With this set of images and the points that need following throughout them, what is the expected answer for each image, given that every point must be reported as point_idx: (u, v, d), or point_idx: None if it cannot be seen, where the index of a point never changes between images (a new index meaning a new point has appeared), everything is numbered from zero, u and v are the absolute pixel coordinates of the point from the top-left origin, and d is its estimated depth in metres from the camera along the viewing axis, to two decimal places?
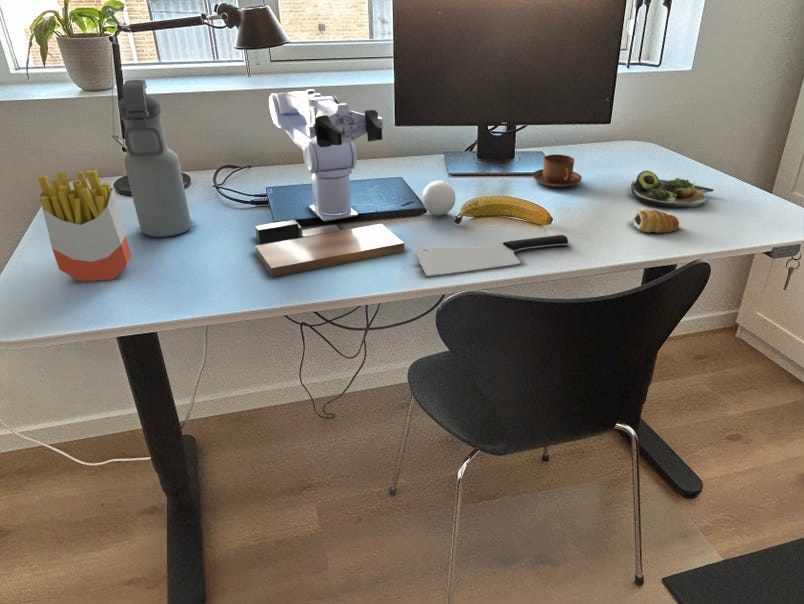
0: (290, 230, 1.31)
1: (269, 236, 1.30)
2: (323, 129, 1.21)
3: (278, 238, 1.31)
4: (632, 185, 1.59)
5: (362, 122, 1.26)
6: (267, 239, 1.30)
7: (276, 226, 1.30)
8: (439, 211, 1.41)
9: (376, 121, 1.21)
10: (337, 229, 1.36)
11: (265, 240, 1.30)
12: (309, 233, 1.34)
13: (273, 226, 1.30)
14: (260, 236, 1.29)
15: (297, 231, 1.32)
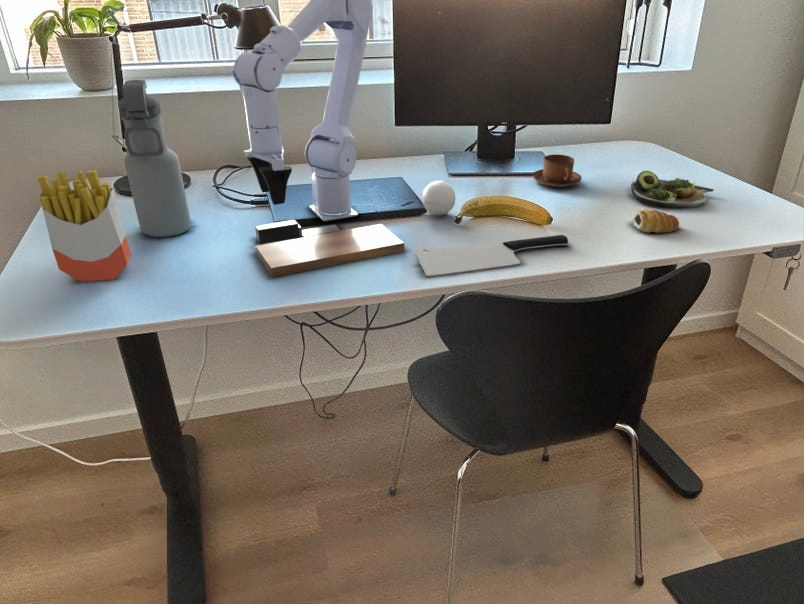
0: (290, 230, 1.31)
1: (269, 236, 1.30)
2: None
3: (278, 238, 1.31)
4: (632, 185, 1.59)
5: None
6: (267, 239, 1.30)
7: (276, 226, 1.30)
8: (439, 211, 1.41)
9: (269, 190, 1.22)
10: (337, 229, 1.36)
11: (265, 240, 1.30)
12: (309, 233, 1.34)
13: (273, 226, 1.30)
14: (260, 236, 1.29)
15: (297, 231, 1.32)
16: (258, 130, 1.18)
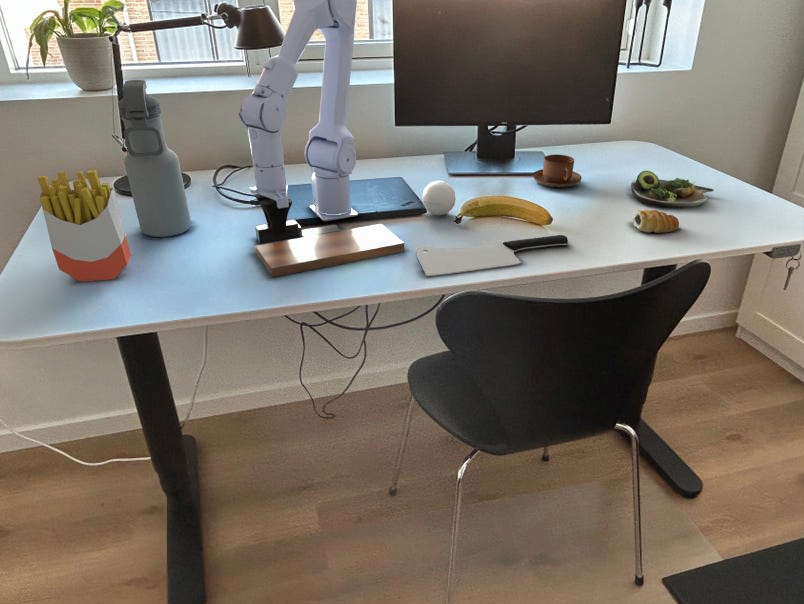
0: (290, 230, 1.31)
1: (269, 236, 1.30)
2: None
3: (278, 238, 1.31)
4: (632, 185, 1.59)
5: None
6: (267, 239, 1.30)
7: None
8: (439, 211, 1.41)
9: (270, 221, 1.28)
10: (337, 229, 1.36)
11: (265, 240, 1.30)
12: (309, 233, 1.34)
13: None
14: (260, 236, 1.29)
15: (297, 231, 1.32)
16: (263, 169, 1.22)
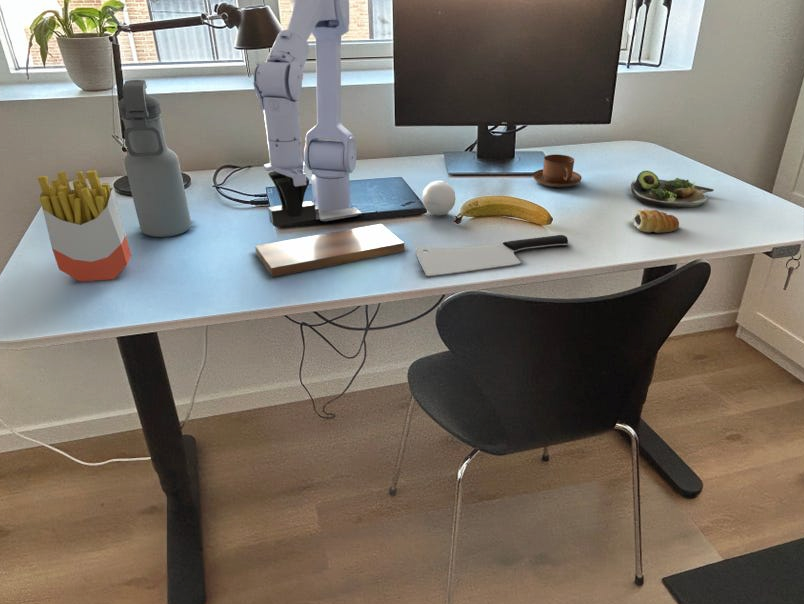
0: (306, 212, 1.21)
1: (283, 218, 1.19)
2: None
3: (293, 220, 1.20)
4: (632, 185, 1.59)
5: None
6: (281, 221, 1.19)
7: None
8: (439, 211, 1.41)
9: (285, 202, 1.17)
10: (357, 212, 1.25)
11: (279, 222, 1.19)
12: (327, 216, 1.23)
13: None
14: (274, 218, 1.18)
15: (314, 213, 1.21)
16: (278, 143, 1.11)
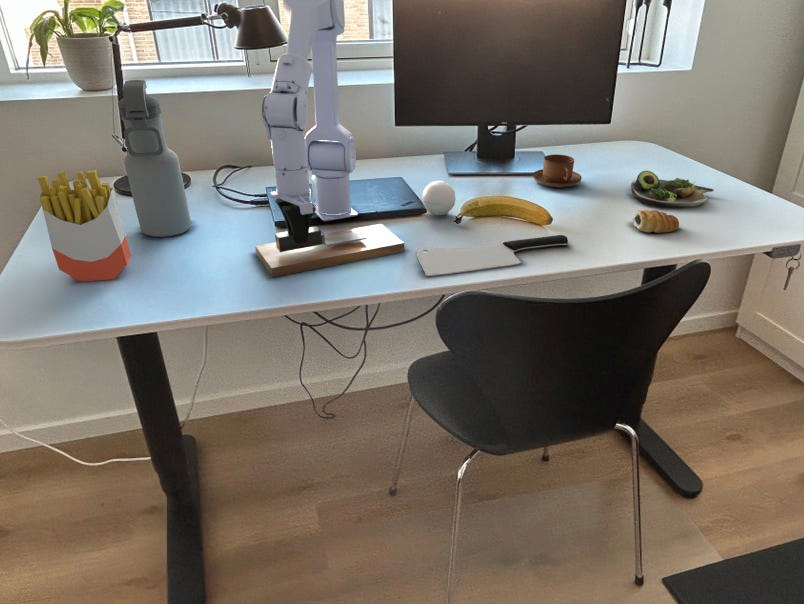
0: (312, 238, 1.22)
1: (290, 244, 1.20)
2: None
3: (299, 246, 1.21)
4: (632, 185, 1.59)
5: None
6: (288, 247, 1.20)
7: None
8: (439, 211, 1.41)
9: (292, 229, 1.18)
10: (362, 236, 1.26)
11: (286, 248, 1.20)
12: (332, 241, 1.24)
13: None
14: (280, 244, 1.19)
15: (320, 239, 1.23)
16: (285, 172, 1.12)
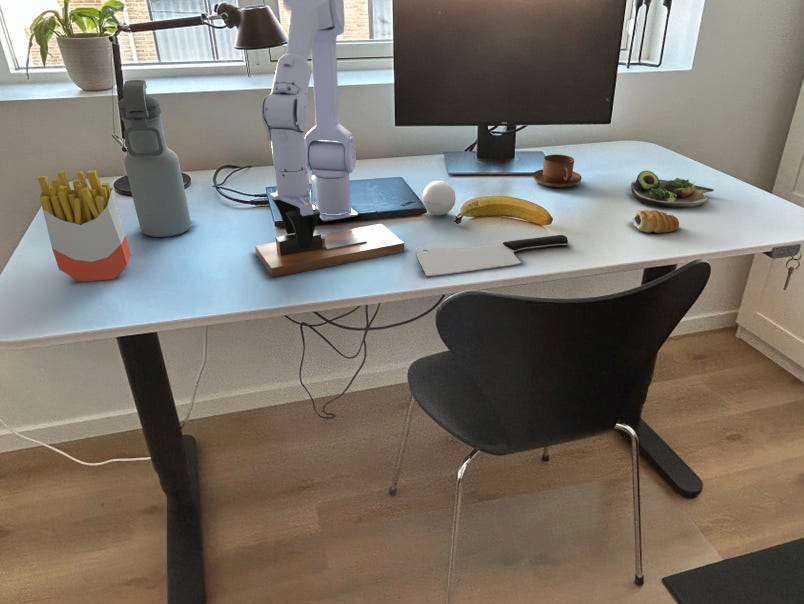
0: (313, 242, 1.22)
1: (290, 248, 1.21)
2: None
3: (300, 250, 1.22)
4: (632, 185, 1.59)
5: None
6: (288, 251, 1.21)
7: None
8: (439, 211, 1.41)
9: (296, 234, 1.17)
10: (362, 240, 1.27)
11: (286, 252, 1.21)
12: (333, 244, 1.25)
13: (295, 238, 1.21)
14: (281, 248, 1.20)
15: (320, 242, 1.23)
16: (285, 173, 1.12)
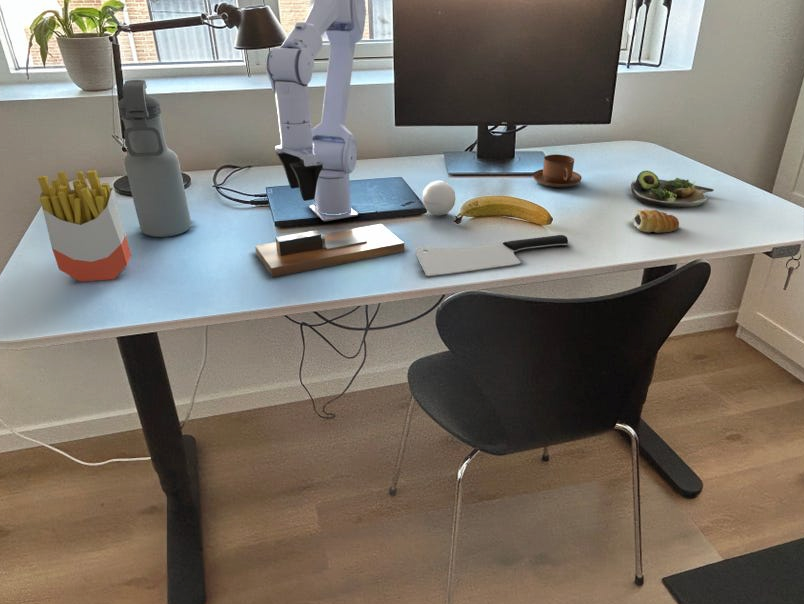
0: (313, 242, 1.22)
1: (290, 248, 1.21)
2: None
3: (300, 250, 1.22)
4: (632, 185, 1.59)
5: None
6: (288, 251, 1.21)
7: (298, 237, 1.21)
8: (439, 211, 1.41)
9: (299, 186, 1.21)
10: (362, 240, 1.27)
11: (286, 252, 1.21)
12: (333, 244, 1.25)
13: (295, 238, 1.21)
14: (281, 248, 1.20)
15: (320, 242, 1.23)
16: (290, 125, 1.17)
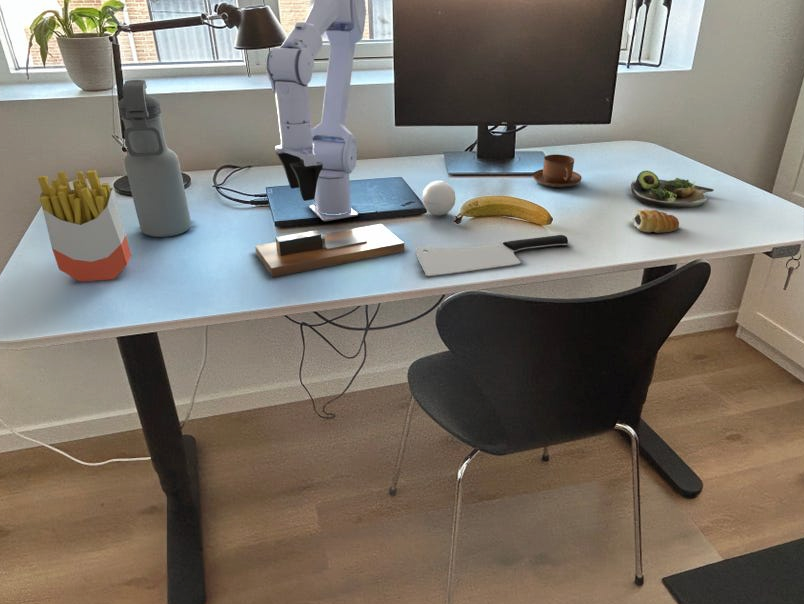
0: (313, 242, 1.22)
1: (290, 248, 1.21)
2: None
3: (300, 250, 1.22)
4: (632, 185, 1.59)
5: None
6: (288, 251, 1.21)
7: (298, 237, 1.21)
8: (439, 211, 1.41)
9: (299, 186, 1.21)
10: (362, 240, 1.27)
11: (286, 252, 1.21)
12: (333, 244, 1.25)
13: (295, 238, 1.21)
14: (281, 248, 1.20)
15: (320, 242, 1.23)
16: (290, 125, 1.17)
